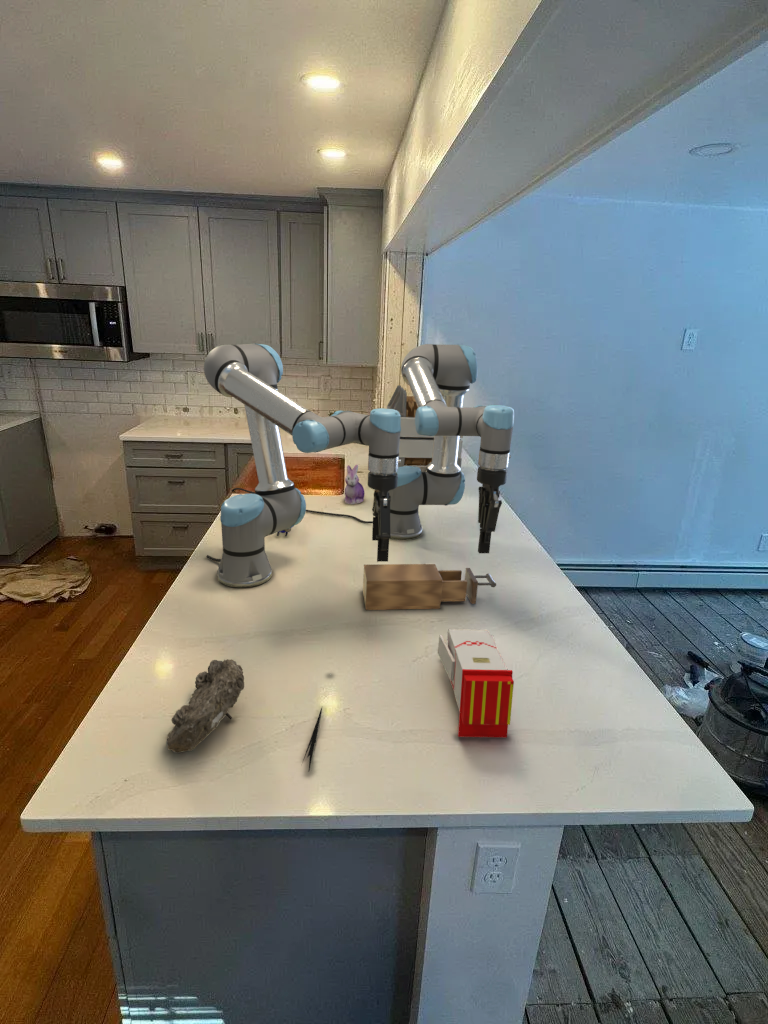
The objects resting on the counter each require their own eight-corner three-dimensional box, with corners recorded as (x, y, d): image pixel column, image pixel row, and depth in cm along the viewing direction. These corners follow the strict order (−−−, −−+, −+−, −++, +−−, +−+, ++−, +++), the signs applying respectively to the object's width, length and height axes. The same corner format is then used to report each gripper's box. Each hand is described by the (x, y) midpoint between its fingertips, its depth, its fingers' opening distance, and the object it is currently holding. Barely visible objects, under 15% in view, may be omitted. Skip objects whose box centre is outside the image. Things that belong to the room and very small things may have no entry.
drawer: (487, 588, 161) (489, 567, 159) (496, 603, 153) (498, 581, 151) (402, 589, 158) (403, 568, 156) (407, 604, 150) (408, 582, 148)
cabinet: (433, 591, 160) (435, 563, 157) (440, 608, 151) (442, 580, 148) (362, 592, 158) (363, 564, 155) (365, 610, 149) (366, 580, 146)
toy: (488, 613, 130) (523, 677, 101) (484, 667, 133) (517, 744, 104) (435, 612, 130) (455, 676, 101) (432, 666, 133) (451, 743, 103)
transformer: (382, 463, 289) (386, 382, 275) (445, 464, 293) (451, 384, 279) (390, 482, 257) (394, 392, 243) (460, 483, 261) (468, 394, 247)
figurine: (348, 506, 225) (349, 469, 220) (338, 498, 233) (339, 463, 228) (369, 503, 229) (371, 467, 224) (359, 496, 237) (360, 461, 232)
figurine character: (291, 542, 192) (296, 522, 205) (290, 522, 188) (296, 503, 202) (271, 542, 191) (278, 521, 205) (270, 522, 188) (277, 502, 201)
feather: (331, 679, 122) (336, 673, 122) (307, 777, 96) (313, 769, 95) (324, 675, 122) (329, 669, 121) (298, 772, 95) (304, 764, 95)
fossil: (192, 660, 117) (244, 628, 112) (224, 691, 120) (276, 661, 115) (142, 746, 98) (202, 712, 93) (182, 779, 101) (242, 748, 96)
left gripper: (405, 487, 130) (400, 570, 137) (391, 459, 153) (388, 532, 161) (372, 486, 129) (369, 570, 137) (364, 459, 153) (361, 532, 160)
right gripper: (515, 474, 139) (504, 562, 147) (499, 461, 151) (490, 542, 159) (485, 474, 138) (476, 562, 146) (472, 460, 150) (463, 542, 158)
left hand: (379, 550), depth 149 cm, fingers open, 13 cm apart
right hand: (483, 552), depth 152 cm, fingers closed
